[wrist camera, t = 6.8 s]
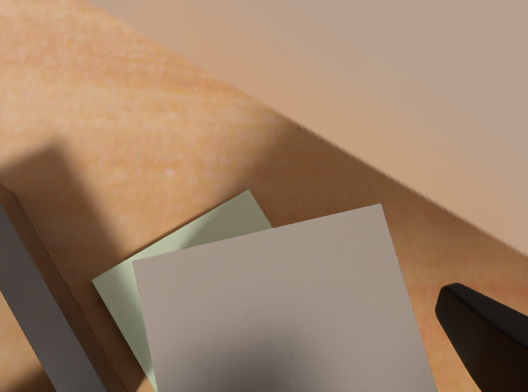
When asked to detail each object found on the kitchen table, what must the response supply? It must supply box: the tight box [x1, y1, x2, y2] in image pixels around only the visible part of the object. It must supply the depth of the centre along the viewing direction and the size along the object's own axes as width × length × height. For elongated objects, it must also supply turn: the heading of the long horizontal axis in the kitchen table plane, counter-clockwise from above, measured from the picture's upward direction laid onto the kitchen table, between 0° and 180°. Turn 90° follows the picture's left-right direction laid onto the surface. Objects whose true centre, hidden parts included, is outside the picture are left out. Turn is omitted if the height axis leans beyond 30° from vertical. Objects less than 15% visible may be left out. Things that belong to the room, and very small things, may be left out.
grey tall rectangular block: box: [132, 203, 437, 392], centre depth 12 cm, size 4×4×10 cm
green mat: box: [92, 189, 273, 392], centre depth 16 cm, size 8×7×1 cm
